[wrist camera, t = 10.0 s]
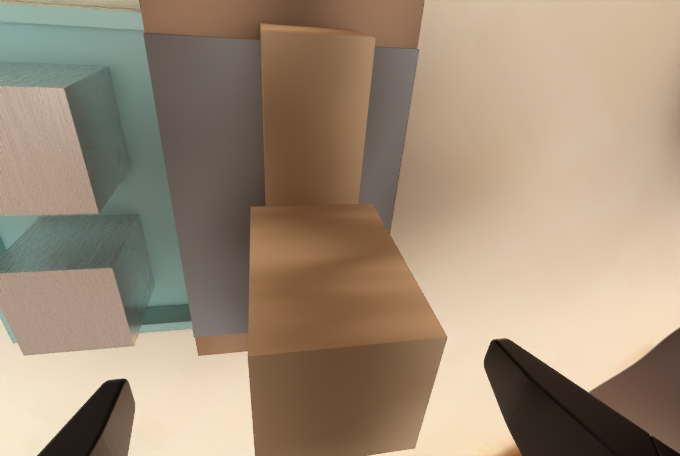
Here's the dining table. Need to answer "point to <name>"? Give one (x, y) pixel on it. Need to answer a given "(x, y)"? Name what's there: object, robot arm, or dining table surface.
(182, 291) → the tray
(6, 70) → the pale grey cube
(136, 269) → the grey cubic block
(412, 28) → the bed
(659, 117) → the dining table surface
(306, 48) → the tan inverted t block
